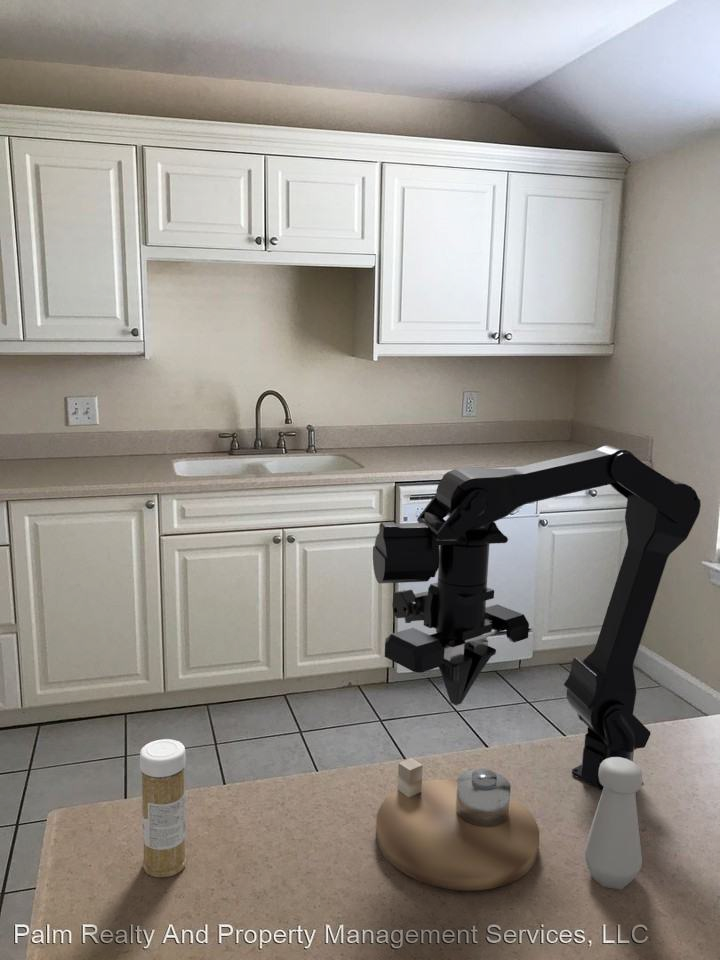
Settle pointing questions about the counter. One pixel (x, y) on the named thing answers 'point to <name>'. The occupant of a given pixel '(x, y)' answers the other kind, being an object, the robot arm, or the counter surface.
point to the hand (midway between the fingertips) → (455, 703)
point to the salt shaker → (615, 826)
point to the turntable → (451, 836)
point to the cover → (483, 798)
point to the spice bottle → (163, 807)
